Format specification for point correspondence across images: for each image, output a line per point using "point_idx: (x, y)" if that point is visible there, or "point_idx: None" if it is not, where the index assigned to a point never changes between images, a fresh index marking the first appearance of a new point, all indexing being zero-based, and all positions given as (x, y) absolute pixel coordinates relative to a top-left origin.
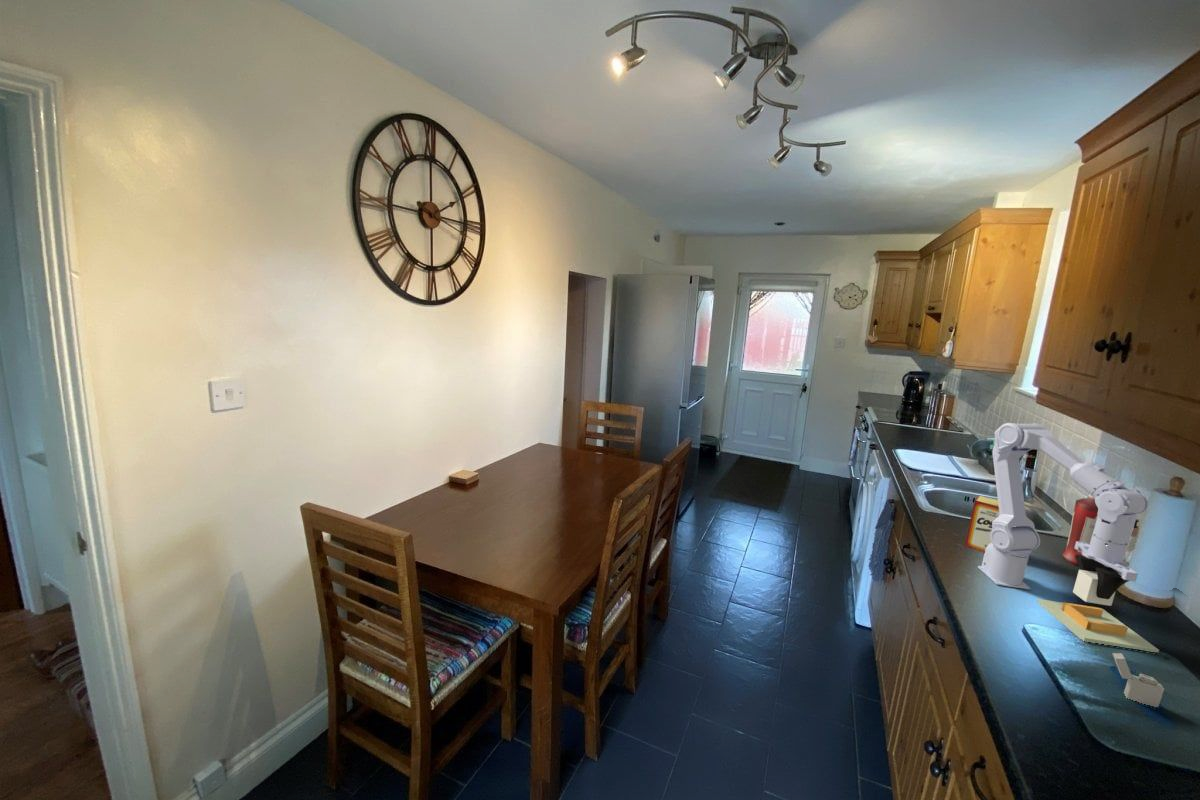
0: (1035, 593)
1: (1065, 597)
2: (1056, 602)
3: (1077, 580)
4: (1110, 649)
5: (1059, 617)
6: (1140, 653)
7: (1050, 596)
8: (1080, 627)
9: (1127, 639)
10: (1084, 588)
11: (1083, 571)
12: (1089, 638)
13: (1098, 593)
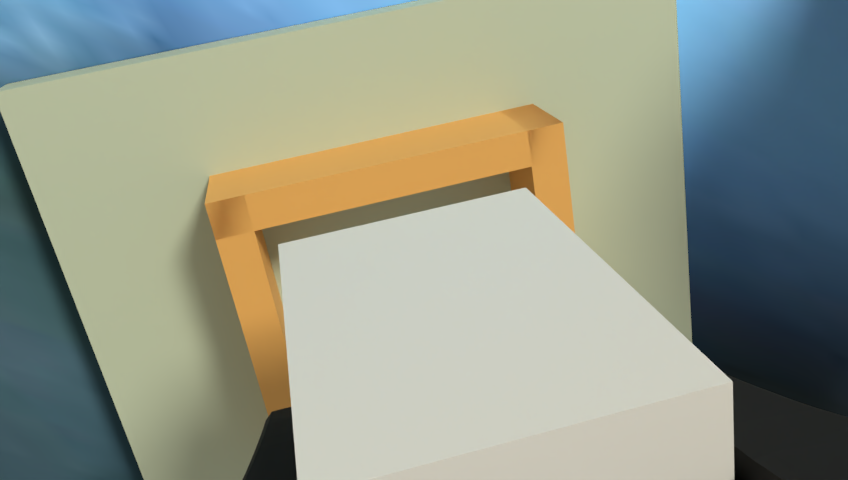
0: (833, 16)
1: (836, 259)
2: (665, 116)
3: (585, 276)
4: (18, 271)
5: (358, 17)
6: (115, 465)
7: (816, 138)
8: (221, 139)
9: (229, 448)
10: (382, 297)
11: (655, 436)
12: (10, 134)
13: (263, 438)
